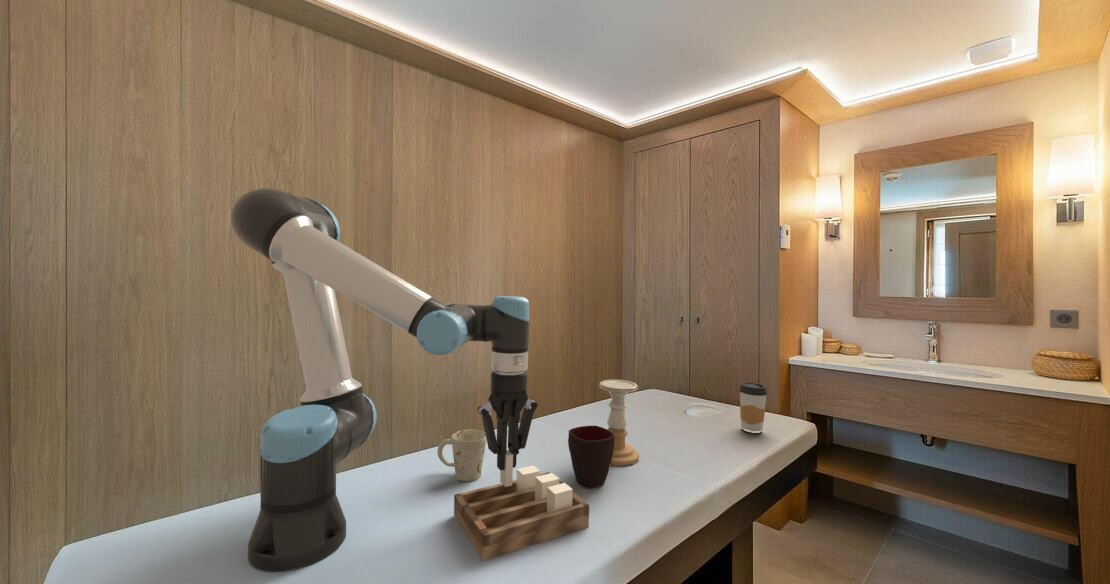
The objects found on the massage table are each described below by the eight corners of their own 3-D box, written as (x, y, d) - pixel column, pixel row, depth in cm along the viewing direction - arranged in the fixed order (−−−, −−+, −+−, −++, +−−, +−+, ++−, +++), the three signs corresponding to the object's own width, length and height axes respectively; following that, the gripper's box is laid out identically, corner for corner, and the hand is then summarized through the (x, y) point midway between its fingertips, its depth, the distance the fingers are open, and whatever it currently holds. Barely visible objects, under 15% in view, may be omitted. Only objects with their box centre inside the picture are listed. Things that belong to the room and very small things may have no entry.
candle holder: (590, 463, 116) (592, 387, 115) (597, 445, 128) (599, 377, 127) (637, 469, 113) (640, 391, 112) (640, 450, 125) (642, 380, 124)
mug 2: (583, 496, 98) (584, 443, 98) (554, 471, 110) (555, 424, 110) (619, 487, 103) (620, 436, 102) (587, 464, 115) (588, 418, 115)
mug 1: (478, 485, 102) (479, 443, 101) (428, 479, 104) (428, 438, 104) (490, 470, 110) (491, 431, 110) (443, 464, 112) (444, 426, 112)
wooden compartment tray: (483, 561, 75) (483, 534, 75) (453, 515, 89) (454, 493, 89) (588, 526, 86) (589, 503, 86) (548, 491, 100) (548, 470, 100)
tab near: (554, 519, 84) (555, 494, 84) (546, 512, 87) (547, 487, 86) (571, 514, 86) (572, 489, 86) (563, 507, 89) (564, 482, 88)
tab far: (522, 498, 92) (523, 474, 92) (516, 492, 94) (516, 469, 94) (539, 493, 94) (540, 470, 94) (532, 487, 96) (533, 465, 96)
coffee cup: (767, 429, 145) (769, 384, 145) (763, 437, 138) (765, 390, 138) (740, 424, 150) (741, 381, 149) (735, 431, 143) (737, 385, 142)
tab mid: (541, 507, 88) (542, 483, 88) (534, 500, 91) (535, 476, 91) (558, 502, 90) (559, 478, 90) (551, 496, 93) (552, 472, 93)
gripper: (486, 377, 84) (483, 498, 85) (545, 372, 91) (542, 484, 92) (472, 370, 90) (469, 482, 91) (529, 365, 97) (525, 470, 98)
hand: (506, 483), depth 91 cm, fingers closed
